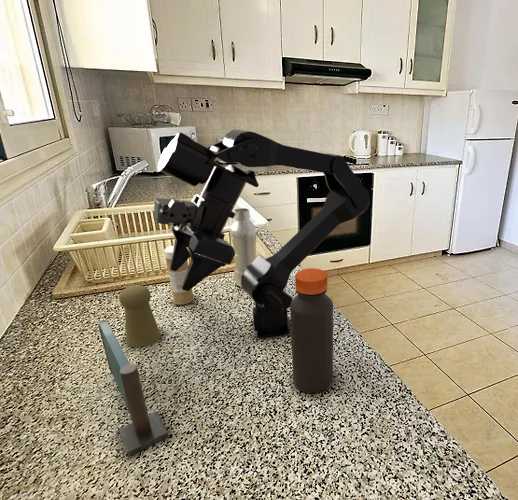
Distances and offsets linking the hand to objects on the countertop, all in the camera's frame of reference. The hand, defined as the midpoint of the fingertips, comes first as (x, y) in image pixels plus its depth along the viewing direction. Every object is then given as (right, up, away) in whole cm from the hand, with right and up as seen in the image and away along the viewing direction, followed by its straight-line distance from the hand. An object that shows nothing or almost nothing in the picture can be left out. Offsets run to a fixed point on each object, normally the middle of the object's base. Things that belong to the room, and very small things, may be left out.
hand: (178, 279), depth 64 cm
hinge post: (0, -21, -11) cm, 24 cm away
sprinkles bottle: (-10, -7, +24) cm, 27 cm away
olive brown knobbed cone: (-12, -13, +10) cm, 20 cm away
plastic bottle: (+3, -4, +33) cm, 34 cm away
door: (-6, -18, -5) cm, 19 cm away
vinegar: (+23, -17, 0) cm, 29 cm away
